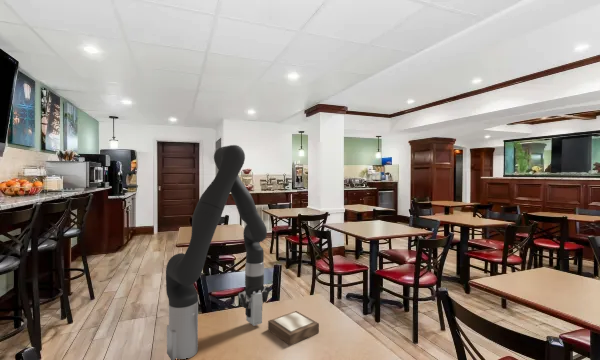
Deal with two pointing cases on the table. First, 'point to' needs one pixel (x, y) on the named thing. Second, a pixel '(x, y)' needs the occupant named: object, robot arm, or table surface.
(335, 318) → the table surface
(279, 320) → the walnut stand
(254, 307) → the skincare box
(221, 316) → the table surface
